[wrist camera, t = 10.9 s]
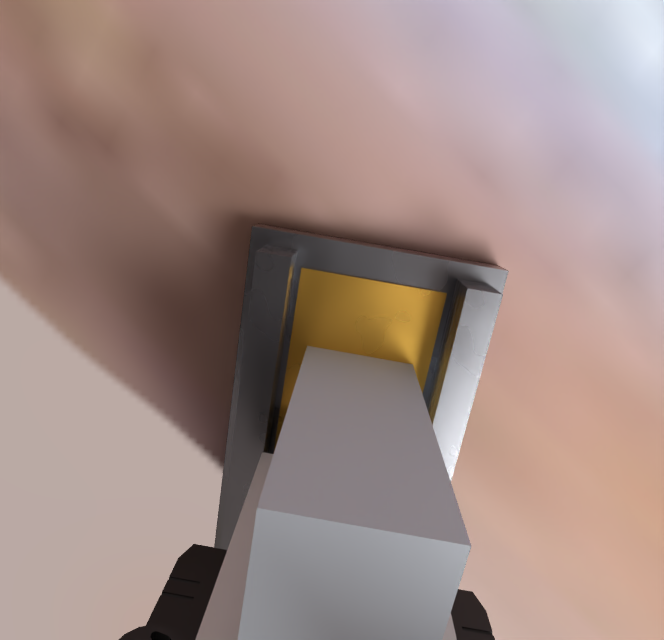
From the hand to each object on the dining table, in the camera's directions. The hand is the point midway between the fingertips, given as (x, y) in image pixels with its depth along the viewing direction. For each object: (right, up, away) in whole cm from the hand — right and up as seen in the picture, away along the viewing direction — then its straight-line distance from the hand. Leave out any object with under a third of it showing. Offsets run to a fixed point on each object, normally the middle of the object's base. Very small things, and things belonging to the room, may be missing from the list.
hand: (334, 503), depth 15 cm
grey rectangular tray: (0, +1, +3) cm, 3 cm away
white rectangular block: (0, 0, +2) cm, 2 cm away
